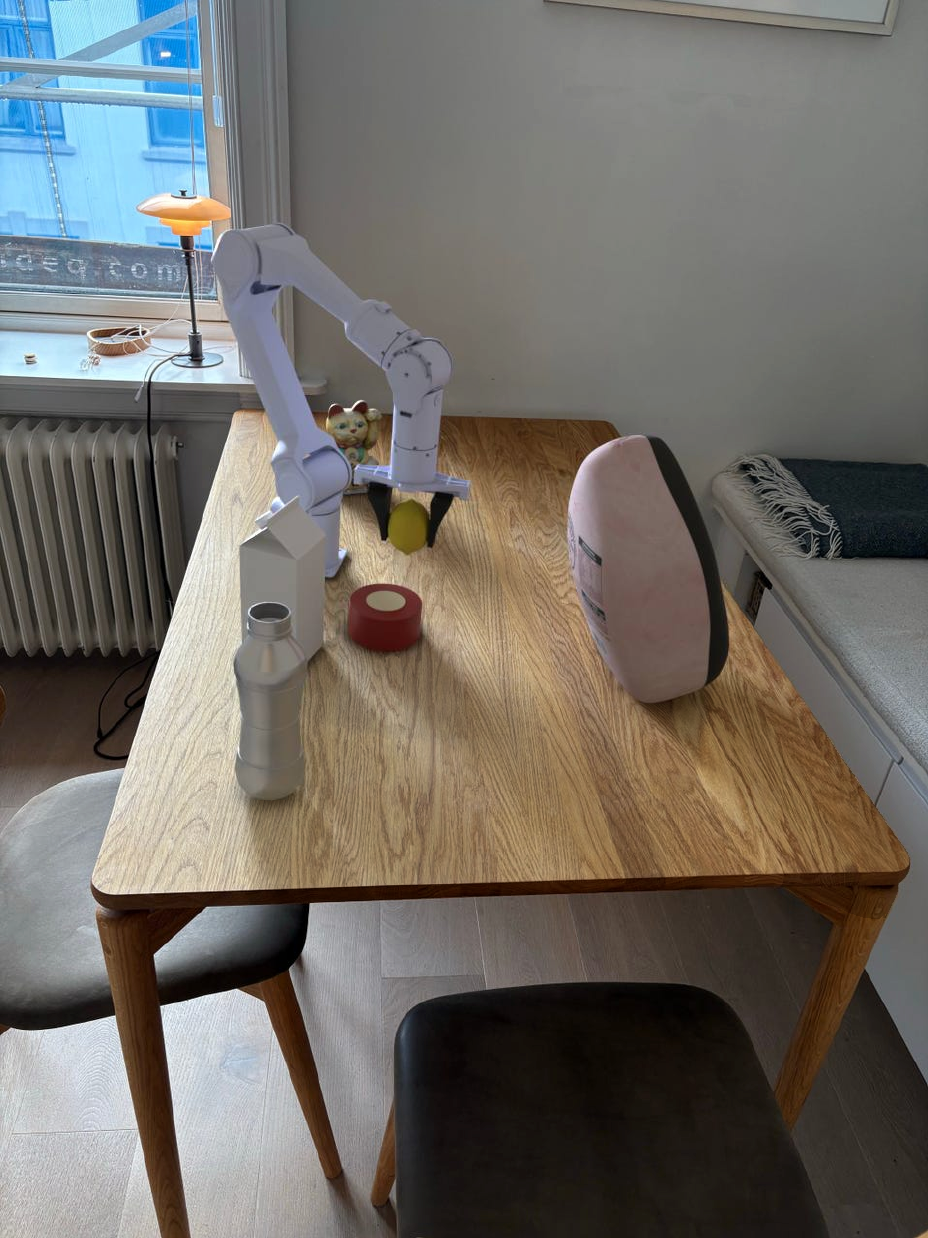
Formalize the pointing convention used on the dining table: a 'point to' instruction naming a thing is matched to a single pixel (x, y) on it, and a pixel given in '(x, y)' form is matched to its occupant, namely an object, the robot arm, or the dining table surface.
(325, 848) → the dining table surface
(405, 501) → the lemon
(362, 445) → the decorative figurine
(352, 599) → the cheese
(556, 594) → the dining table surface
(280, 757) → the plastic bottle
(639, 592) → the pink backpack
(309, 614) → the milk carton
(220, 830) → the dining table surface
